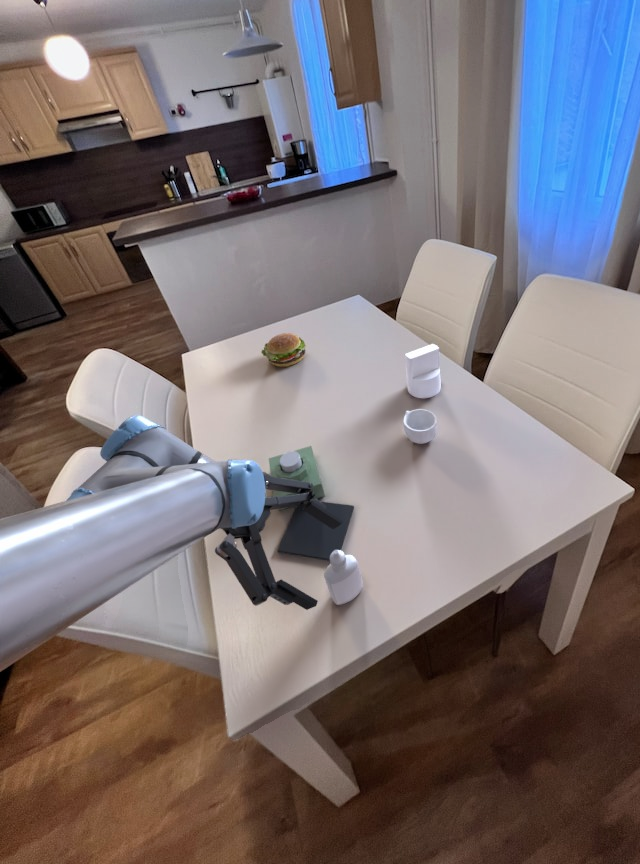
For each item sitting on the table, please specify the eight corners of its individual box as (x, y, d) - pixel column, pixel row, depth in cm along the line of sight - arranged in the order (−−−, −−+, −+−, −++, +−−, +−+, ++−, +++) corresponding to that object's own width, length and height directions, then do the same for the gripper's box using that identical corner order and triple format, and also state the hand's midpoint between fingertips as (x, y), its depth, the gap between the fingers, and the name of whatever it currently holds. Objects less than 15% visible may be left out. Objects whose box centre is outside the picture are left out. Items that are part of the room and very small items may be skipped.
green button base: (325, 496, 85) (319, 477, 82) (278, 510, 84) (271, 492, 80) (314, 457, 95) (309, 439, 91) (273, 470, 93) (266, 452, 90)
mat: (337, 562, 73) (336, 560, 72) (277, 552, 76) (276, 550, 76) (354, 507, 82) (353, 505, 82) (300, 500, 85) (299, 498, 85)
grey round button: (303, 469, 85) (301, 462, 84) (283, 475, 84) (280, 469, 83) (300, 455, 88) (298, 448, 87) (280, 461, 88) (278, 454, 86)
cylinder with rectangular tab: (418, 402, 106) (415, 364, 99) (401, 385, 113) (398, 349, 106) (447, 390, 109) (446, 353, 102) (429, 375, 116) (427, 338, 109)
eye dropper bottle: (365, 602, 66) (354, 562, 59) (331, 606, 66) (317, 567, 60) (363, 576, 70) (353, 536, 63) (331, 581, 70) (317, 541, 63)
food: (261, 356, 138) (254, 336, 133) (299, 343, 141) (294, 323, 137) (271, 375, 127) (264, 354, 122) (312, 360, 131) (307, 339, 126)
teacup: (444, 439, 94) (443, 422, 91) (416, 453, 92) (415, 436, 88) (419, 417, 101) (418, 400, 98) (393, 429, 99) (391, 412, 96)
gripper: (240, 443, 71) (335, 505, 76) (151, 579, 52) (285, 652, 57) (259, 422, 67) (358, 490, 71) (168, 563, 48) (312, 643, 52)
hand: (326, 562), depth 64 cm, fingers open, 13 cm apart
